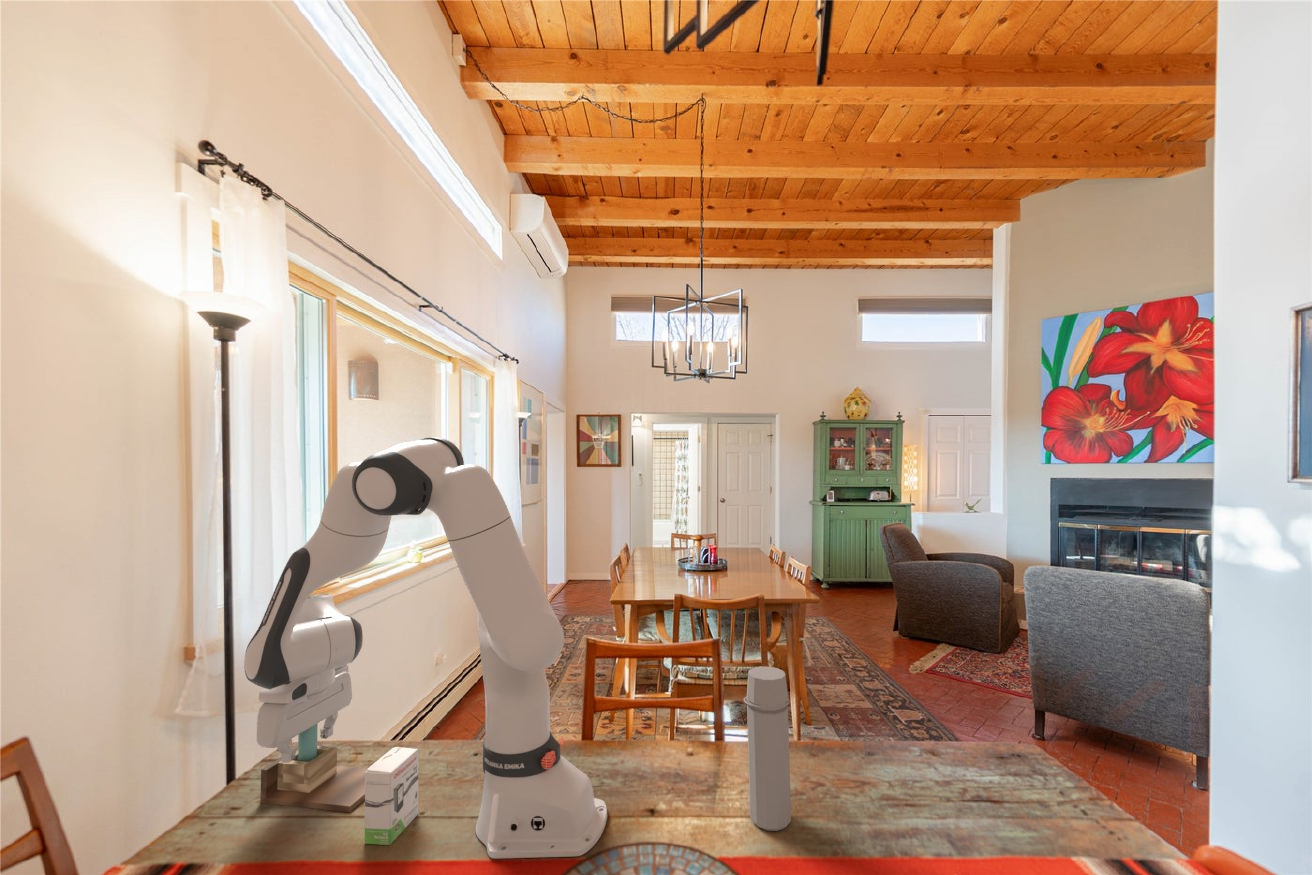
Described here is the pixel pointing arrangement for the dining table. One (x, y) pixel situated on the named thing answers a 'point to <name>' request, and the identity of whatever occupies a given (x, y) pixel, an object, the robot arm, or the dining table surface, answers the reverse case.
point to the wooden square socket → (307, 771)
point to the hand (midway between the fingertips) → (308, 748)
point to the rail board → (317, 790)
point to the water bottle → (768, 748)
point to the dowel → (307, 744)
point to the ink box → (391, 795)
